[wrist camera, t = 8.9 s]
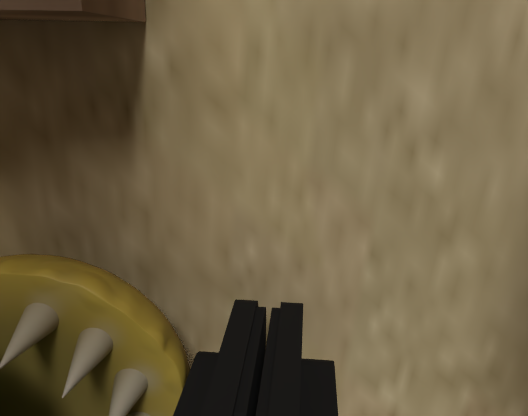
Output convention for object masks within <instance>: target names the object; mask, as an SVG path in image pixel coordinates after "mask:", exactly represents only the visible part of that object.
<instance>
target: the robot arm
mask: <svg viewBox="0 0 528 416" xmlns="http://www.w3.org/2000/svg"><path fill="white" fill-rule="evenodd" d="M302 325H303V304H302V303H285V302H281V307H280V308H272V311H271V318H270V325H269V331H268V338H267V344H266V307H258V301H252V300H235V302H234V305H233V308H232V312H231V315H230V318H229V322H228V325H227V328H226V331H225V335H224V338H223V341H222V345H221V348H220V351H219V353H215V352H201V351H199V352H198V353H197V354H196V356H195V359H194V361H193V364H192V366H191V369H190V372H189V374H188V377H187V380H186V382H185V385H184V388H183V390H182V393H181V396H180V398H179V401H178V403H177V406H176V409H175V411H174V414H173V416H338V407H337V394H336V380H335V366H334V361H329V360H315V359H301V356H302Z"/></svg>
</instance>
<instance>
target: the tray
mask: <svg viewBox="0 0 528 416" xmlns="http://www.w3.org/2000/svg"><path fill="white" fill-rule="evenodd" d="M0 20H49V21H117V22H146V14H145V0H0Z"/></svg>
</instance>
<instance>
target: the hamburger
mask: <svg viewBox="0 0 528 416" xmlns="http://www.w3.org/2000/svg"><path fill="white" fill-rule="evenodd" d="M189 372H190V367H189V364H188V360H187V356H186V353H185V350H184V347H183V345H182V343H181V341H180V339H179V337H178V336H177V334H176V333H175V331H174V329H173V327H172V326H171V324H170V322H169V321H168V320H167V318H166V317H165V316H164V314H163V313H162V312H161V311H160V310H159V309H158V308H157V307H156V306H155V305H154V304H153V303H152V302H151V301H150V300H149V299H148V298H146V297H145V296H144V295H143V294H142V293H141V292H140V291H138V290H137V289H136V288H134V287H133V286H131V285H130V284H128V283H127V282H125V281H123V280H122V279H120V278H119V277H117V276H115V275H114V274H112V273H110V272H108V271H106V270H103V269H101V268H98V267H95V266H92V265H90V264H87V263H84V262H81V261H78V260H75V259H70V258H66V257H60V256H53V255H37V254H20V255H13V256H3V257H0V416H173V414H174V411H175V409H176V406H177V403H178V401H179V398H180V396H181V393H182V390H183V388H184V385H185V382H186V380H187V377H188V374H189Z"/></svg>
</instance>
